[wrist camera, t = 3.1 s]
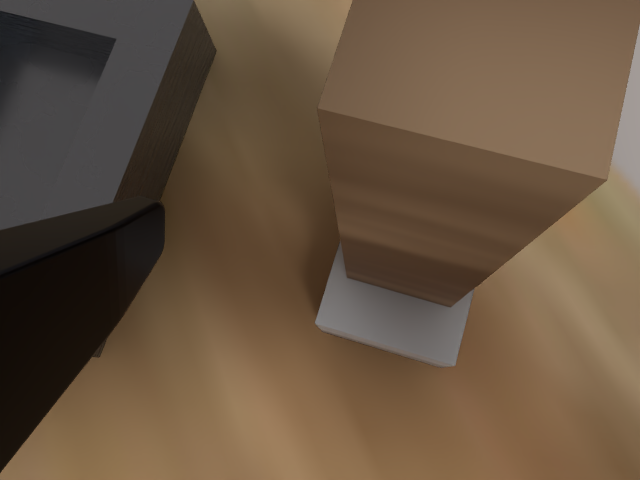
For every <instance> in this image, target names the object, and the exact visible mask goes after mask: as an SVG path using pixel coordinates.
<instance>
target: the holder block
mask: <svg viewBox="0 0 640 480" xmlns="http://www.w3.org/2000/svg"><path fill="white" fill-rule="evenodd" d="M215 53H216V48H215V46H214V44H213V42H212V40H211V37H210V35H209V33H208V31H207V28H206V26H205V24H204V22H203V20H202V17H201V15H200V13H199V11H198V9H197V6H196V4H195V2H194V0H0V230H2V229H6V228H10V227H15V226H19V225H23V224H27V223H31V222H35V221H39V220H43V219H47V218H51V217H56V216H60V215H64V214H68V213H72V212H76V211H80V210H84V209H88V208H93V207H97V206H101V205H105V204H109V203H113V202H117V201H121V200H125V199H130V198H134V197H138V196H143V197H146V198H150V199H153V200H157V201H159V200H160V198H161V195H162V192H163V190H164V187H165V185H166V182H167V179H168V177H169V174H170V171H171V169H172V166H173V164H174V161H175V158H176V156H177V153H178V150H179V148H180V145H181V143H182V140H183V137H184V135H185V132H186V129H187V127H188V124H189V122H190V119H191V116H192V114H193V111H194V108H195V106H196V103H197V101H198V98H199V95H200V93H201V90H202V88H203V85H204V82H205V80H206V77H207V74H208V72H209V69H210V67H211V64H212V61H213V59H214V56H215ZM106 339H107V338H106ZM105 342H106V340H105V341H104V342H103V343H102V345H101V346H100V347H99V348H98V350H97V351H96V352H95V353H94V355H93V356H92V357H100V355H101V352H102V350H103V347H104V344H105Z"/></svg>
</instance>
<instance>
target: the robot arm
mask: <svg viewBox="0 0 640 480" xmlns="http://www.w3.org/2000/svg"><path fill="white" fill-rule="evenodd" d="M164 242H165V209H164V205H163V204H162V203H161V202H160V201H157V200H153V199H150V198H146V197H143V196H138V197H134V198H130V199H125V200H121V201H117V202H113V203H109V204H105V205H101V206H97V207H93V208H88V209H84V210H80V211H76V212H72V213H68V214H64V215H60V216H56V217H51V218H47V219H43V220H39V221H35V222H31V223H27V224H23V225H19V226H15V227H10V228H6V229H2V230H0V473H1V471H2V470H3V469H4V467H5V466H6V465H7V464H8V462H9V461H10V460H11V459H12V457H13V456H14V455H15V454H16V452H17V451H18V450H19V448H20V447H21V446H22V445H23V443H24V442H25V441H26V440H27V438H28V437H29V436H30V435H31V433H32V432H33V431H34V429H35V428H36V427H37V426H38V424H39V423H40V422H41V421H42V419H43V418H44V417H45V416H46V414H47V413H48V412H49V410H50V409H51V408H52V407H53V405H54V404H55V403H56V402H57V400H58V399H59V398H60V397H61V395H62V394H63V393H64V391H65V390H66V389H67V388H68V386H69V385H70V384H71V383H72V381H73V380H74V379H75V378H76V376H77V375H78V374H79V372H80V371H81V370H82V369H83V367H84V366H85V365H86V364H87V362H88V361H89V360H90V359H91V357H92V356H93V355H94V353H95V352H96V351H97V350H98V348H99V347H100V346H101V345H102V343H103V342H104V341H105V340H106V338H107V337H108V336H109V334H110V333H111V332H112V331H113V329H114V328H115V327H116V325H117V324H118V323H119V321H120V320H121V318H122V317H123V315H124V314H125V312H126V311H127V309H128V308H129V306H130V304H131V303H132V301H133V299H134V298H135V296H136V295H137V293H138V291H139V290H140V288H141V286H142V285H143V283H144V282H145V280H146V278H147V277H148V275H149V273H150V272H151V270H152V269H153V267H154V265H155V264H156V262H157V260H158V259H159V257H160V255H161V253H162V251H163V248H164Z"/></svg>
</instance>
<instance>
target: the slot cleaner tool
mask: <svg viewBox="0 0 640 480" xmlns="http://www.w3.org/2000/svg"><path fill="white" fill-rule="evenodd" d="M639 24H640V0H353V1H352V4H351V7H350V10H349V13H348V16H347V19H346V22H345V25H344V28H343V31H342V34H341V37H340V40H339V43H338V46H337V49H336V53H335V56H334V59H333V62H332V65H331V68H330V71H329V74H328V77H327V80H326V83H325V86H324V89H323V92H322V95H321V98H320V101H319V104H318V107H317V111H318V116H319V122H320V128H321V133H322V139H323V145H324V150H325V156H326V162H327V167H328V173H329V179H330V184H331V190H332V196H333V201H334V207H335V213H336V218H337V224H338V230H339V235H340V243H339V246H338V249H337V253H336V256H335V259H334V262H333V266H332V269H331V272H330V276H329V279H328V282H327V285H326V289H325V292H324V295H323V298H322V302H321V305H320V308H319V312H318V315H317V318H316V321H315V324H316V325H317V326H318V327H319V328H320V329H321V331H322V332H325V333H328V334H332V335H335V336H338V337H341V338H345V339H348V340H351V341H355V342H358V343H361V344H364V345H368V346H371V347H374V348H378V349H381V350H384V351H387V352H391V353H394V354H397V355H400V356H404V357H407V358H410V359H414V360H417V361H420V362H423V363H427V364H430V365H433V366H436V367H440V368H443V367H450V366H455V364H456V360H457V356H458V352H459V348H460V344H461V340H462V336H463V332H464V328H465V324H466V320H467V316H468V312H469V308H470V304H471V300H472V296H473V292H474V288H475V287H477V286H478V285H479V284H480V283H481V282H483V281H484V280H485V279H486V278H488V277H489V276H490V275H491V274H492V273H494V272H495V271H496V270H497V269H499V268H500V267H501V266H502V265H504V264H505V263H506V262H507V261H508V260H510V259H511V258H512V257H513V256H515V255H516V254H517V253H518V252H519V251H521V250H522V249H523V248H524V247H526V246H527V245H528V244H529V243H531V242H532V241H533V240H534V239H535V238H537V237H538V236H539V235H540V234H542V233H543V232H544V231H545V230H546V229H548V228H549V227H550V226H551V225H553V224H554V223H555V222H556V221H558V220H559V219H560V218H561V217H562V216H564V215H565V214H566V213H567V212H569V211H570V210H571V209H572V208H574V207H575V206H576V205H577V204H578V203H580V202H581V201H582V200H583V199H585V198H586V197H587V196H588V195H589V194H591V193H592V192H593V191H594V190H596V189H597V188H598V187H599V186H601V185H602V184H603V183H604V182H605V181H607V179H608V174H609V170H610V165H611V160H612V155H613V150H614V145H615V140H616V136H617V131H618V126H619V121H620V116H621V111H622V107H623V102H624V97H625V92H626V88H627V83H628V78H629V73H630V68H631V63H632V59H633V54H634V49H635V44H636V39H637V35H638V30H639Z"/></svg>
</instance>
